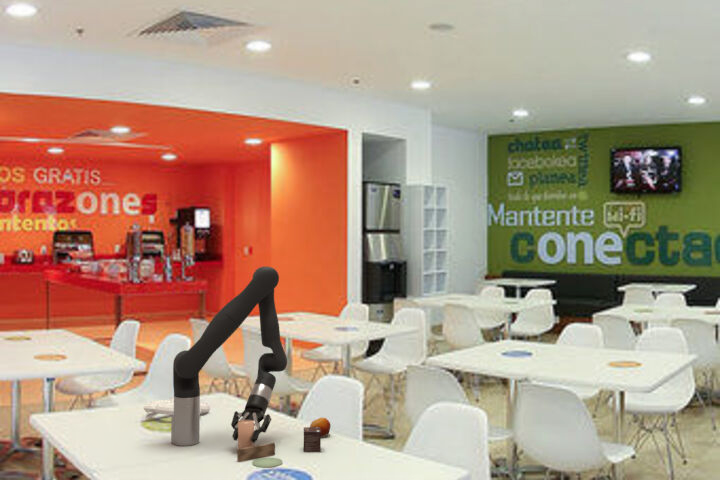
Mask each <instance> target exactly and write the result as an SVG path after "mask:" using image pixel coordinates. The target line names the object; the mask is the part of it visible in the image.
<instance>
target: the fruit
mask: <svg viewBox="0 0 720 480" xmlns="http://www.w3.org/2000/svg"><path fill="white" fill-rule="evenodd" d="M309 427H320V429H321V438H327V435H328V436H330V430H331V422H330V421H329V420H328V418H326V417H318V418H317V419H314V420H313V421H311V423H310V426H309Z"/></svg>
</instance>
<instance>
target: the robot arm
mask: <svg viewBox="0 0 720 480" xmlns="http://www.w3.org/2000/svg"><path fill="white" fill-rule="evenodd" d="M279 281H280V275H279V272H278V271H277V269H275V268H274V267H272V266H260V267H258V268H257V269H255V270H254V272H253V274H252V279H251V280H250V281H249V283H248V284H247V285H246V286H245V288H243V290H242V291H241V292H240V293H239V294H237V295H236V296H235V297H234V298H232V299H231V300H230V301H229V302H227V303H226V304H225V305H224V306H223V307H221V309H220V310H219V311H218V312H217V313H216V314H215V315H214V317H213V318H212V319H211V321H209V324H208V325H207V326H206V328H205V330H204V332H203V333H202V335H201V336H200V337H199V339H198V340H197V341H196V342H195V343H194V344H193V345H192V346H191V347H190V348H189V349H188V350H187V349H186V350H183V351H180V352H178V353H177V354H176V356H175V357H174V359H173V365H172V366H173V367H172V370H173V371H172V372H173V373H172V375H173V376H172V378H173V379H172V381H173V383H172V384H173V385H172V387H173V398H174V415H172V416H171V418H170V419H171V421H170V422H171V424H170V425H171V427H170V428H171V429H170V437H171V438H170V441H171V442H170V443H171V444H173V445H175V446H180V447H181V446H182V447H184V446H186V447H187V446H194V445H197V444H199V443H200V428H201V427H200V426H201V425H200V424H201V422H200V421H201V419H200V417H201V414H200V402H201V397H200V396H201V387H200V377H199V376H200V375H199V374H200V372H201V371H202V369H203V368H204V366H205V365H206V364H207V362H208V361H209V359H210V358H211V357H212V356H213V354H214V353H215V352H216V351H217V350H218V349H219V348H220V347H221V346H222V345H223V344H224V343H225V342H226V341H228V339H229V338H230V337H231V336H232V335H233V334H234V333H235V332H236V331H237V330H238V328H239V327H240V326H241V325H242V324H243V322H245V320H246V319H247V317H248V316H249V315H250V314H251V313H252V312H253V311H254V309H255V307H256V306H257V305H258V311H259V312H258V314H259V327H260V328H259V329H260V336H261V337H260V338H261V345H262V346H263V347H265V348H269V349H271V351H272V352H266V353H263V354H261V355H260V357H259V359H258V365H257V366H258V367H257V377H256V380H255V382H254V385H253V387H252V388H251V390H250V392H249V395H248V399H247V401H246V403H245V407H244V410H242V412H239V411H237V410H236V411H234V413H233V416H232V421H231V423H230V425H231V428H232V429H233V432H232V436H231V437H232V439H233V441H237V442H238V421H240V420H253V421H254V433H253V436H252V438H251V441H252V442H253V443H254V444H255V443H256V442H257V441H258V440H259V436H260V434H261V433H266V432H267V430H268V428H269V426H270V423H271V422H272V417H271V415H270V414H268V413H267V414H266V412H267V409H268V407H269V404H270V401H271V398H272V393H273V390H274V388H275V385H276V382H277V379H276V376H275V375H274V374H273V372H275V373H277V372H278V373H279V372H280V373H281V372H283V371H284V370H285V369H286V368H287V365H288V357H287V354H286V353H285V350H284V347H283V344H282V340H281V333H280V323H279V318H278V313H277V309H276V304H275V289H276V288H277V285H278V284H279ZM262 421H263V422H262ZM261 422H262V424H260V423H261Z"/></svg>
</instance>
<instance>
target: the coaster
mask: <svg viewBox="0 0 720 480" xmlns="http://www.w3.org/2000/svg"><path fill="white" fill-rule="evenodd" d="M251 463H252V464H251V465H253V467H257V468H263V469H264V468H267V469H268V468H276V467H279V466H282V465H283V460H282V459H280V458H277V457H271V456H267V457H261V458H256V459H253V460H252V462H251Z"/></svg>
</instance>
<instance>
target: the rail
mask: <svg viewBox="0 0 720 480" xmlns="http://www.w3.org/2000/svg"><path fill="white" fill-rule="evenodd" d="M236 450H237V451H236V452H237V459H236V460H237V462H238V463H240V462H244V461H250V460H255V459H259V458H267V457H271V456H275V455H276V443H275V442H269V443H264V444H259V445H257V444H256V445H254V446H252V447H247V448H241V449H238V448H237V449H236Z"/></svg>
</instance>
